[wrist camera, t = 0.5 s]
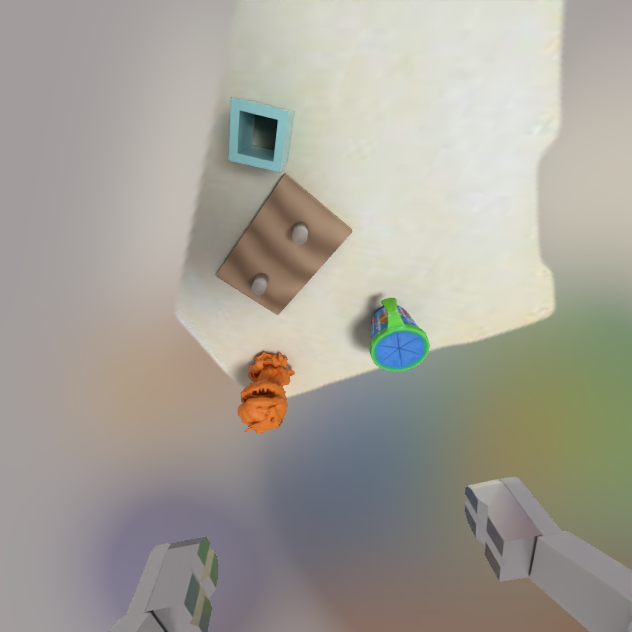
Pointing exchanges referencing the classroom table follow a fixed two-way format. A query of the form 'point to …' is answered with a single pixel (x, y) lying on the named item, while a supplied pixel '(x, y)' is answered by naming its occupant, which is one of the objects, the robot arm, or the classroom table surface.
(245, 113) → the sleeve block
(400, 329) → the snack cup
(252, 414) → the orange animal figurine
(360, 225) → the classroom table surface
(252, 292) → the pin plate
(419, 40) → the classroom table surface
